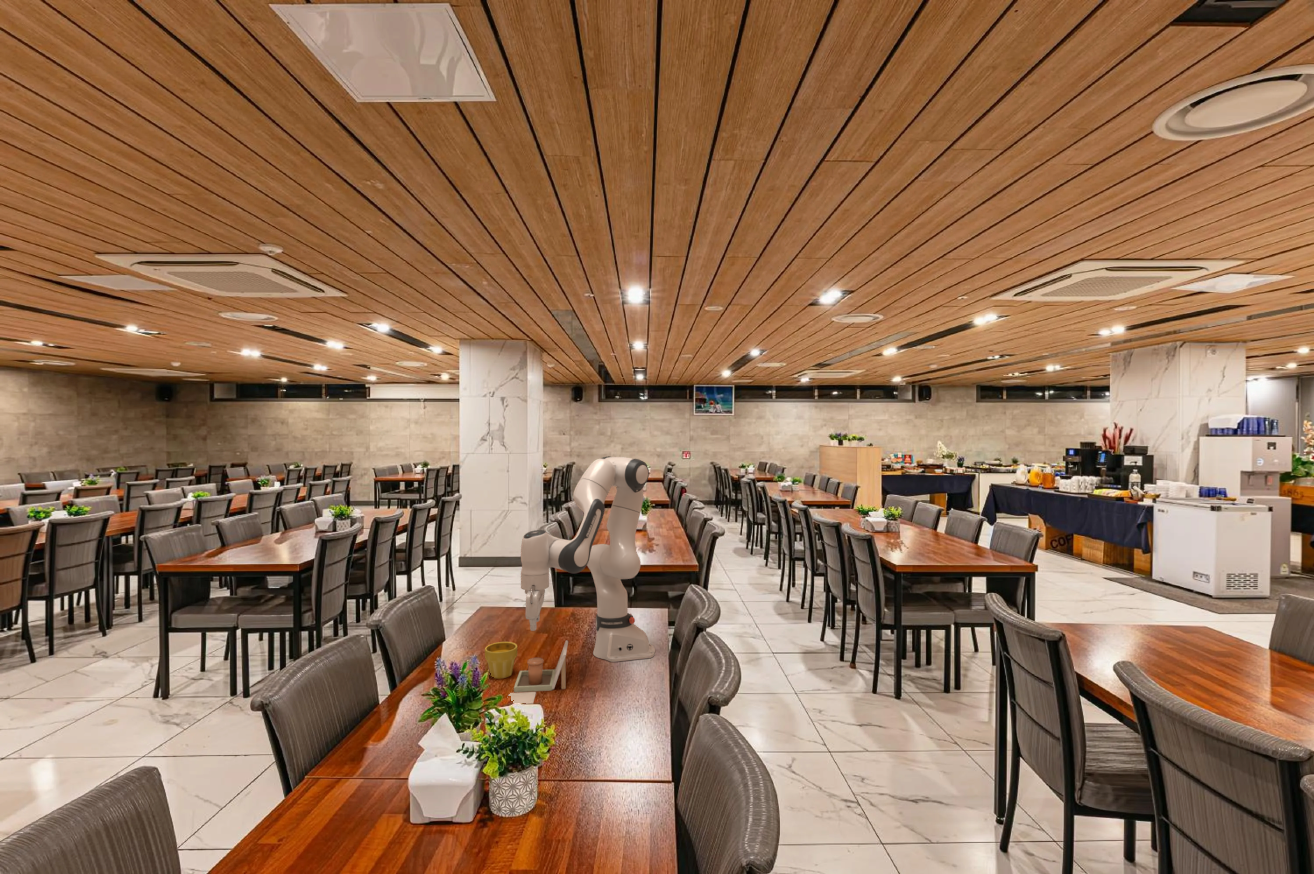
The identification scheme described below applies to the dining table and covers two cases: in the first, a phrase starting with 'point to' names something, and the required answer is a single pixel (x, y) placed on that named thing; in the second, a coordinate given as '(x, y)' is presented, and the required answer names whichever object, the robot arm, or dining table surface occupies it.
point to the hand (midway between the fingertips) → (535, 625)
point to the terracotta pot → (535, 671)
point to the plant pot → (501, 658)
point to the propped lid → (561, 668)
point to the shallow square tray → (524, 686)
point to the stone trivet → (523, 697)
